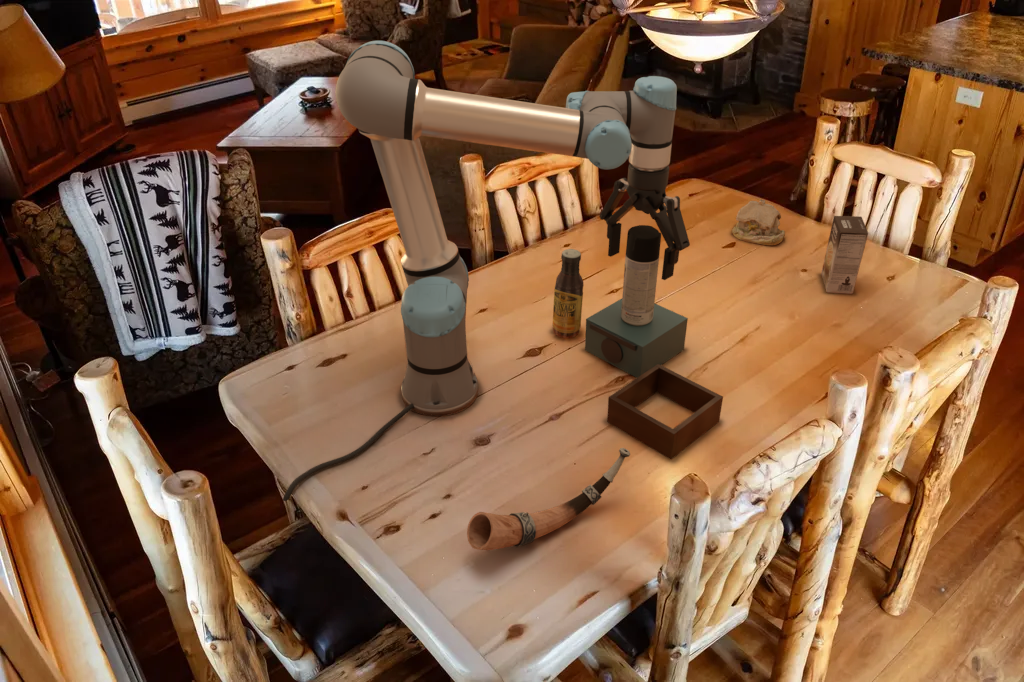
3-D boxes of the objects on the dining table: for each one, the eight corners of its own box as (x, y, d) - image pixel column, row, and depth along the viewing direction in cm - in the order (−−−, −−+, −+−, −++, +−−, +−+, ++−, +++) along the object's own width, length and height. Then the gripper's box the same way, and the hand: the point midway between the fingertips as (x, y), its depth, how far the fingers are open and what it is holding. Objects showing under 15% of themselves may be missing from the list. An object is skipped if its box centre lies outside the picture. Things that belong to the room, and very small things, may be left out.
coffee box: (819, 274, 198) (833, 214, 189) (847, 275, 197) (861, 215, 188) (826, 293, 190) (840, 231, 181) (854, 294, 189) (869, 233, 181)
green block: (638, 380, 163) (641, 348, 159) (583, 351, 172) (584, 319, 168) (684, 349, 172) (687, 318, 167) (629, 323, 181) (631, 292, 176)
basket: (671, 459, 143) (674, 434, 140) (606, 421, 152) (608, 396, 149) (719, 421, 152) (723, 396, 148) (655, 387, 161) (658, 363, 158)
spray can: (643, 307, 171) (650, 221, 160) (659, 323, 166) (667, 235, 155) (615, 313, 169) (620, 227, 158) (630, 329, 164) (637, 241, 153)
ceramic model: (723, 235, 217) (728, 200, 211) (742, 220, 224) (748, 187, 218) (772, 249, 209) (779, 214, 203) (791, 234, 216) (797, 200, 210)
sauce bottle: (547, 335, 177) (548, 255, 166) (559, 321, 182) (561, 243, 171) (574, 342, 175) (577, 262, 164) (586, 328, 179) (589, 249, 168)
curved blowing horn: (463, 553, 126) (459, 507, 121) (615, 481, 139) (618, 437, 133) (480, 577, 122) (478, 531, 117) (635, 501, 135) (640, 456, 129)
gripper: (717, 177, 144) (702, 280, 155) (610, 142, 159) (604, 239, 170) (692, 188, 139) (679, 294, 151) (585, 152, 154) (580, 250, 166)
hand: (639, 265), depth 161 cm, fingers open, 13 cm apart
